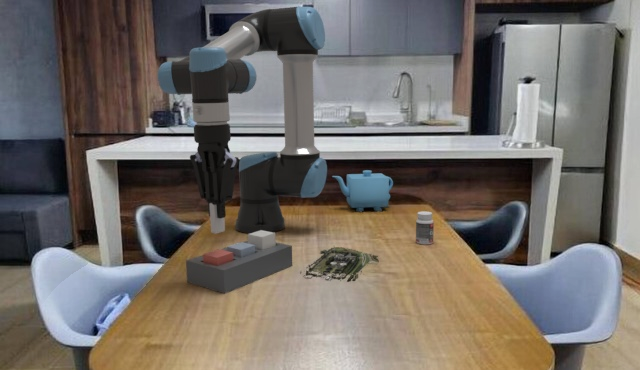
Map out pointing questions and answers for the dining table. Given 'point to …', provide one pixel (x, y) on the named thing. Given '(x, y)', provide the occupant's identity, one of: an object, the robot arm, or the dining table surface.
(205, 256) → the red key
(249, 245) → the blue key
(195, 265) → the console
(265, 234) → the white key
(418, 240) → the pill bottle
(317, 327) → the dining table surface
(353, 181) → the teapot
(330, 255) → the treatment plant
